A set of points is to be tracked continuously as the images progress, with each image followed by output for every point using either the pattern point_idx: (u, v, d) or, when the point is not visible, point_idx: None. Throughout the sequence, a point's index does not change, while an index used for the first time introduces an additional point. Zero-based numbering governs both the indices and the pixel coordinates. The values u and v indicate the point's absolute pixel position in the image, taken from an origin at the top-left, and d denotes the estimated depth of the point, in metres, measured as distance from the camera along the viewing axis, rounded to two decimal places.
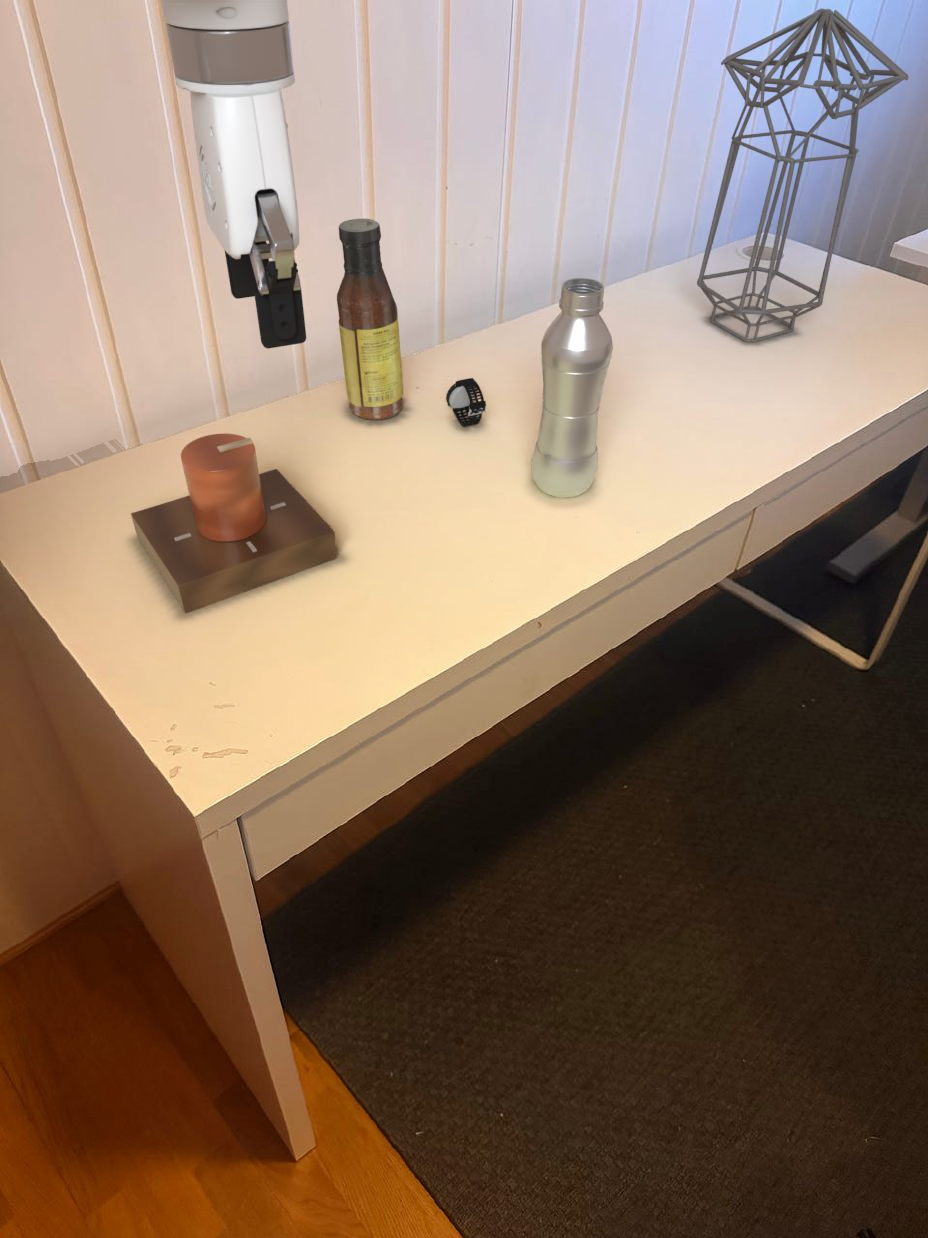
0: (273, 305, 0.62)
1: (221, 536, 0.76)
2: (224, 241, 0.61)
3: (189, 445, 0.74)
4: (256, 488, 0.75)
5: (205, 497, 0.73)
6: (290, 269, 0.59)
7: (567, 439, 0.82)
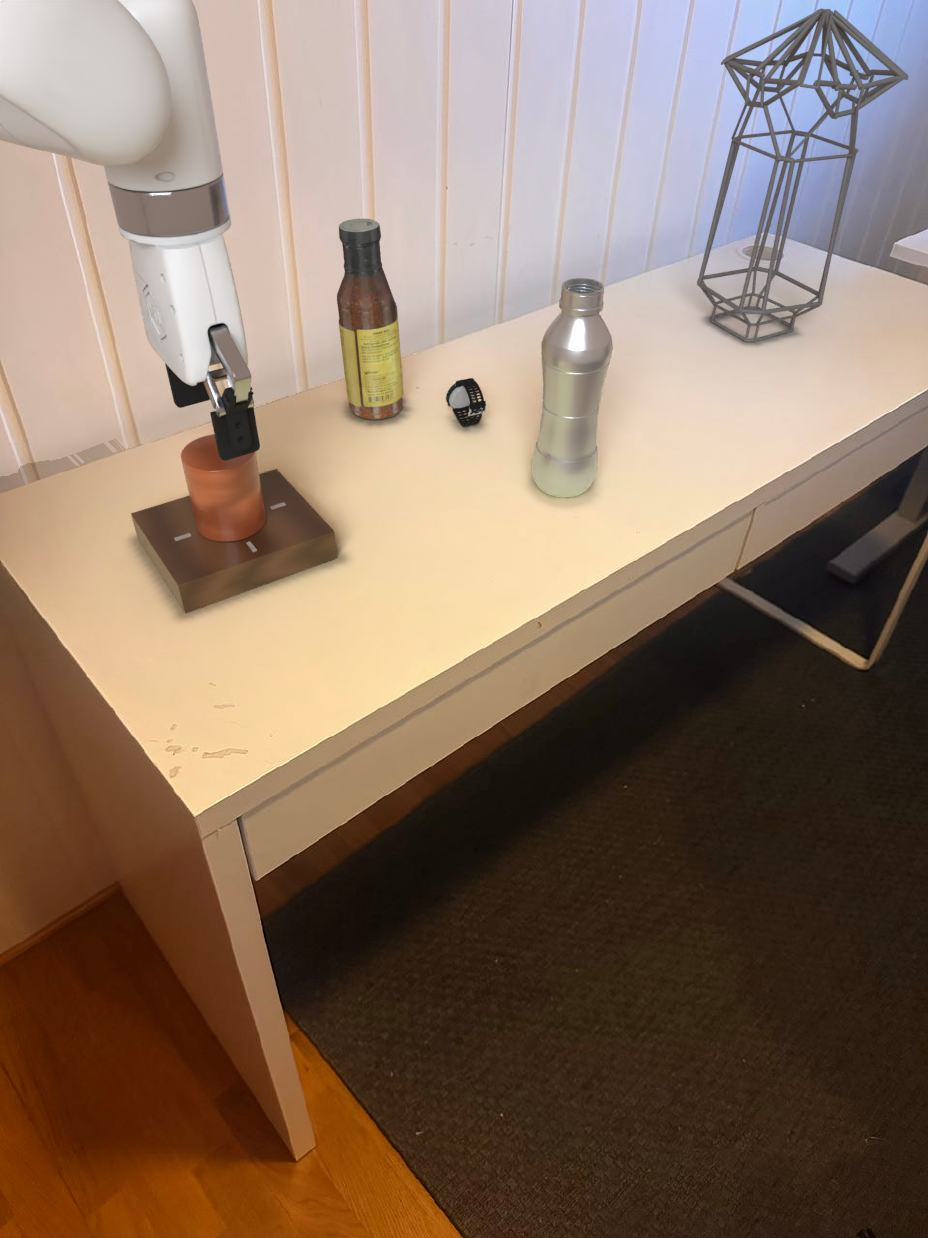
0: (230, 423, 0.66)
1: (221, 536, 0.76)
2: (177, 370, 0.65)
3: (189, 445, 0.74)
4: (256, 488, 0.75)
5: (205, 497, 0.73)
6: (247, 394, 0.63)
7: (567, 439, 0.82)
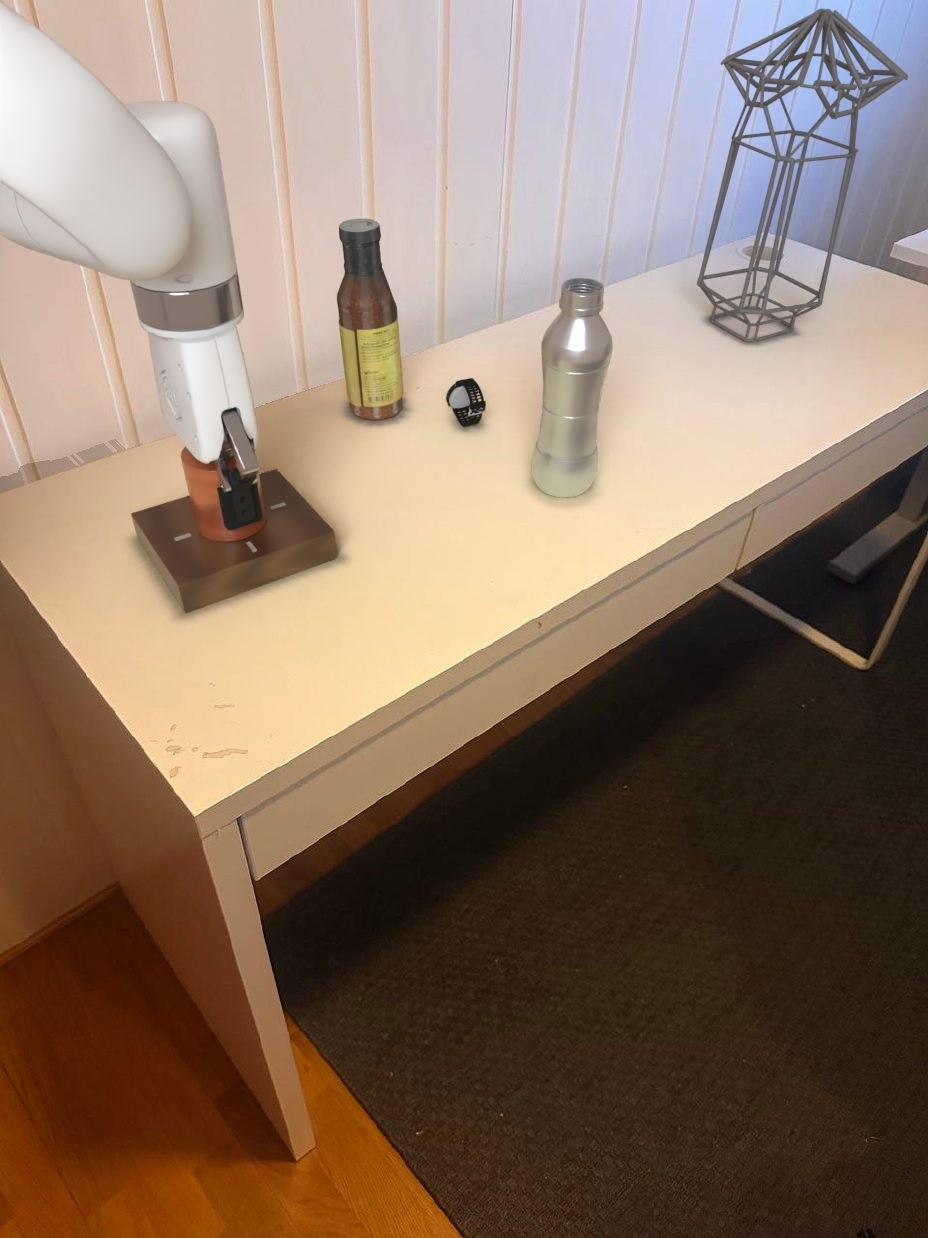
0: (235, 498, 0.72)
1: (221, 536, 0.76)
2: (192, 448, 0.69)
3: None
4: None
5: (205, 497, 0.73)
6: None
7: (567, 439, 0.82)
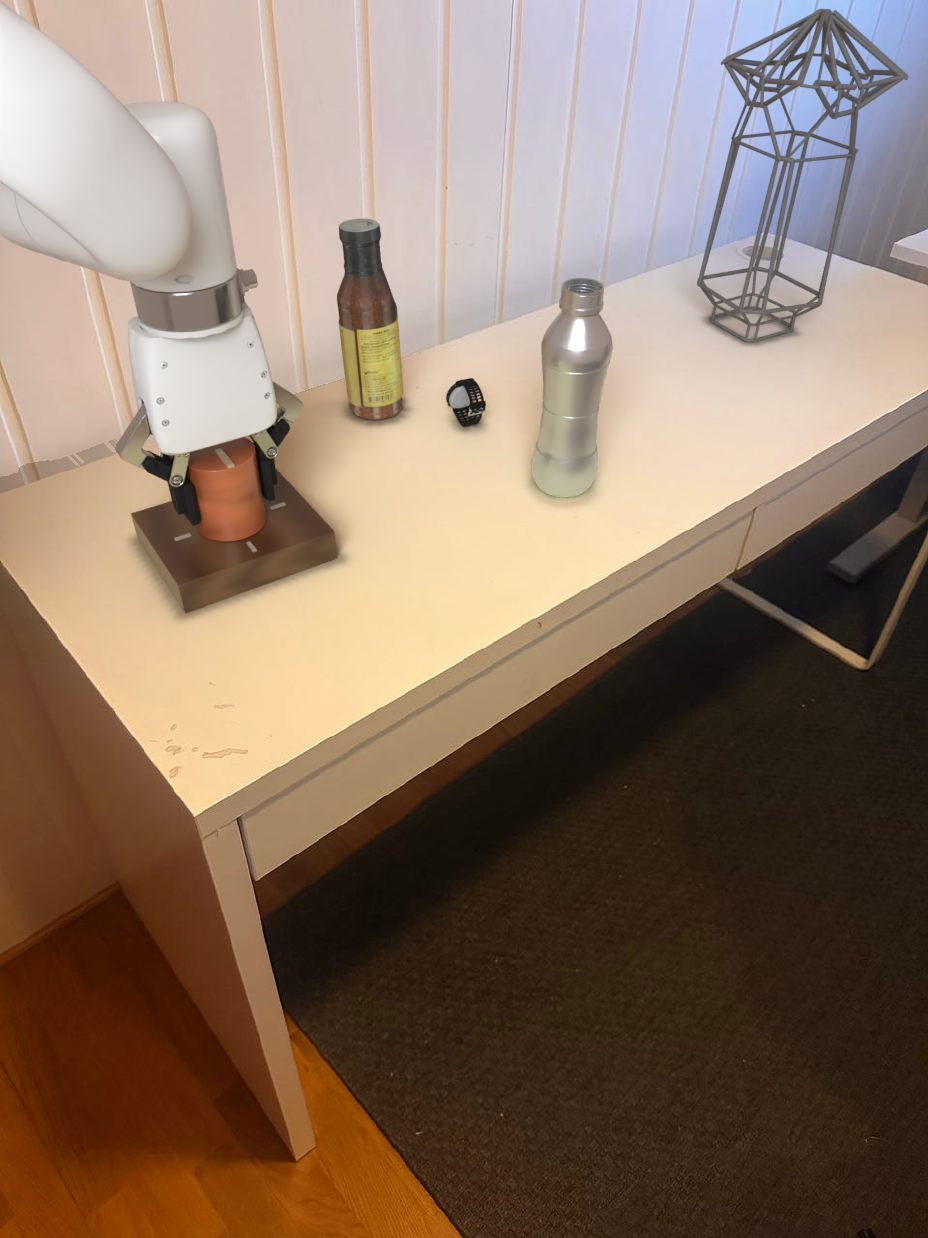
0: (168, 483, 0.73)
1: None
2: None
3: None
4: (206, 501, 0.73)
5: None
6: (140, 464, 0.70)
7: (567, 439, 0.82)
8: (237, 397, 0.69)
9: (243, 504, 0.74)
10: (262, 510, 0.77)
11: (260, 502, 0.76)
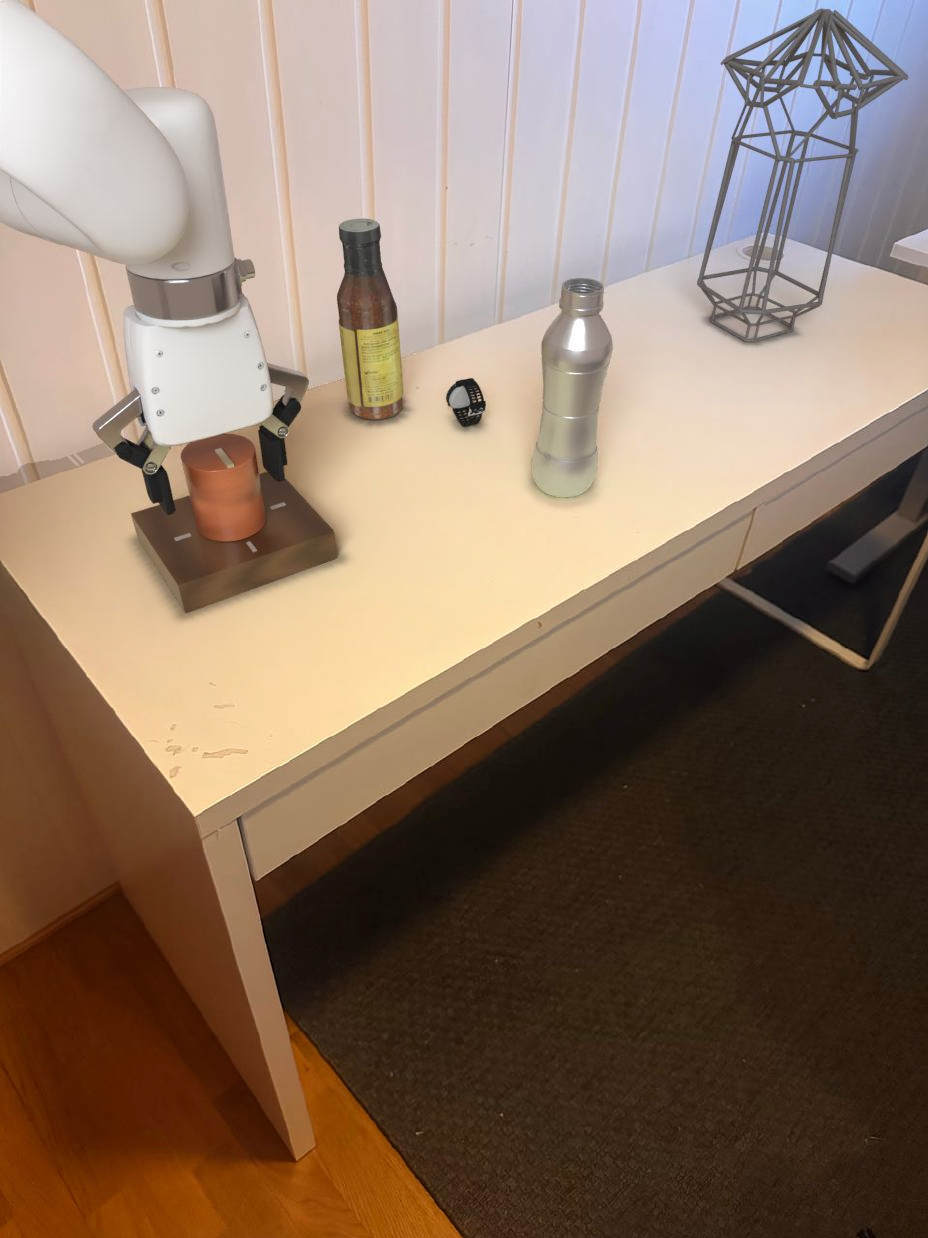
0: (143, 471, 0.71)
1: None
2: None
3: (235, 436, 0.75)
4: (206, 501, 0.73)
5: None
6: (113, 450, 0.68)
7: (567, 439, 0.82)
8: (233, 388, 0.68)
9: (242, 504, 0.74)
10: (262, 510, 0.77)
11: (260, 503, 0.76)
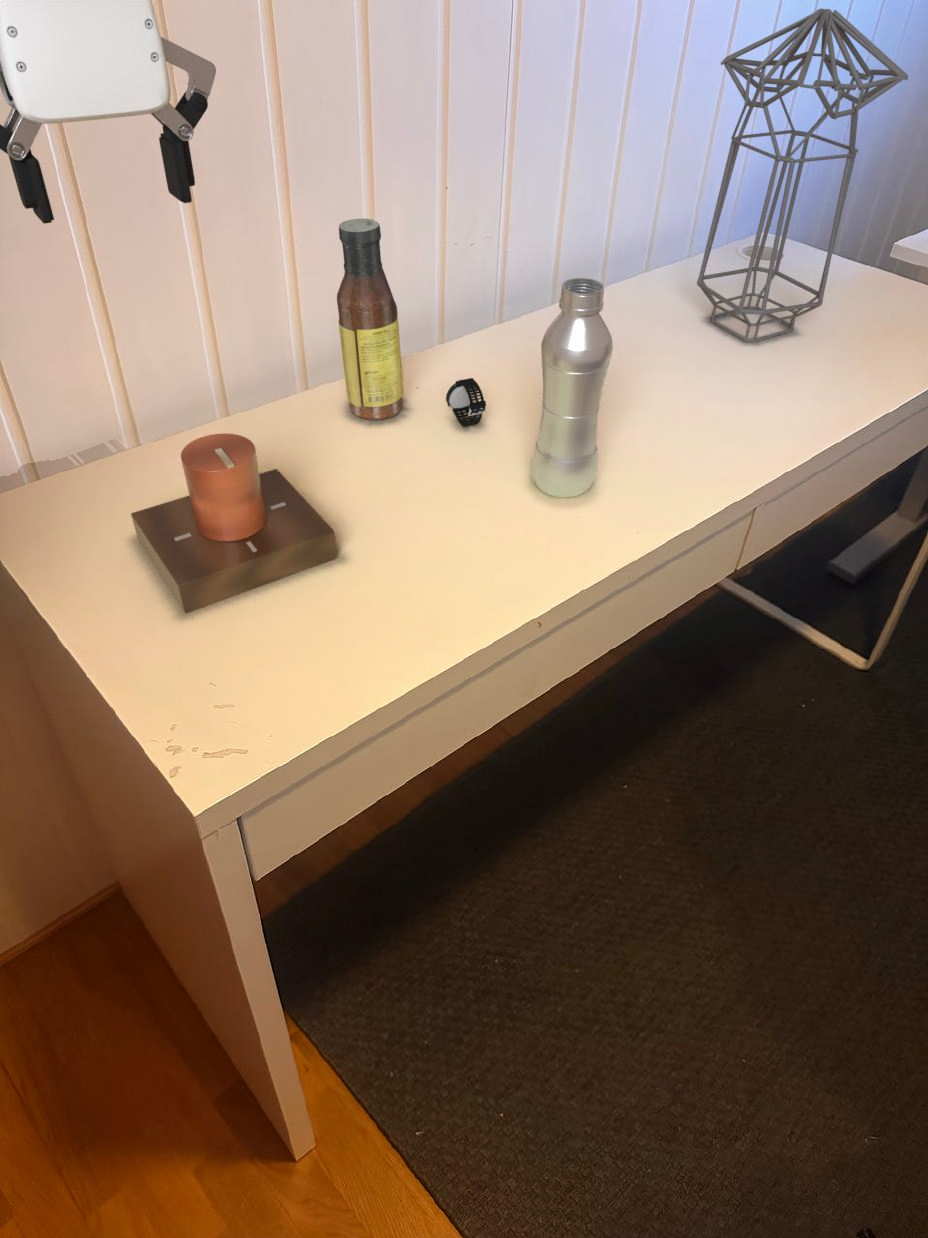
0: None
1: None
2: None
3: (235, 436, 0.75)
4: (206, 501, 0.73)
5: None
6: None
7: (567, 439, 0.82)
8: (114, 48, 0.56)
9: (242, 504, 0.74)
10: (262, 510, 0.77)
11: (260, 503, 0.76)
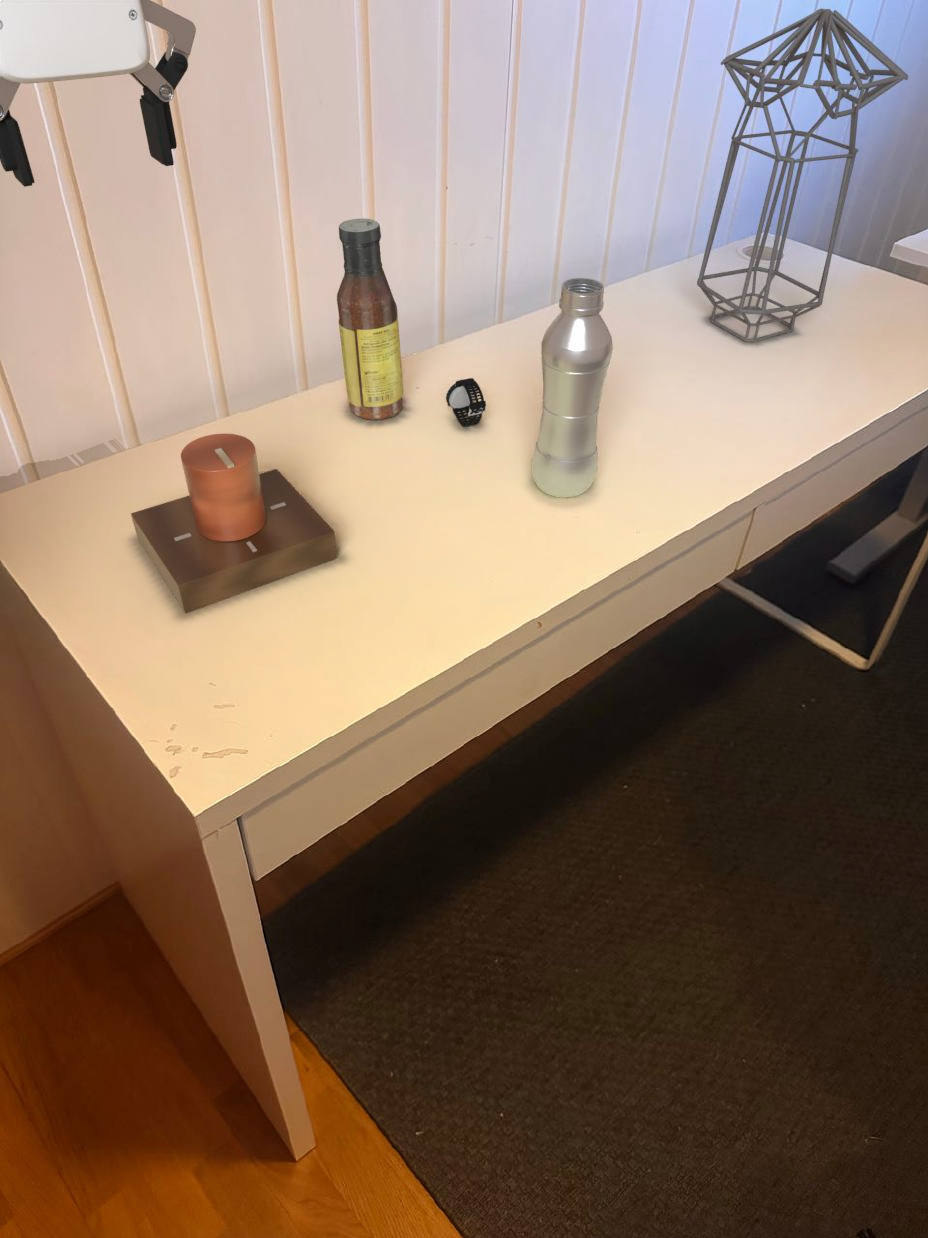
0: None
1: None
2: None
3: (235, 436, 0.75)
4: (206, 501, 0.73)
5: None
6: None
7: (567, 439, 0.82)
8: (92, 5, 0.56)
9: (242, 504, 0.74)
10: (262, 510, 0.77)
11: (260, 503, 0.76)
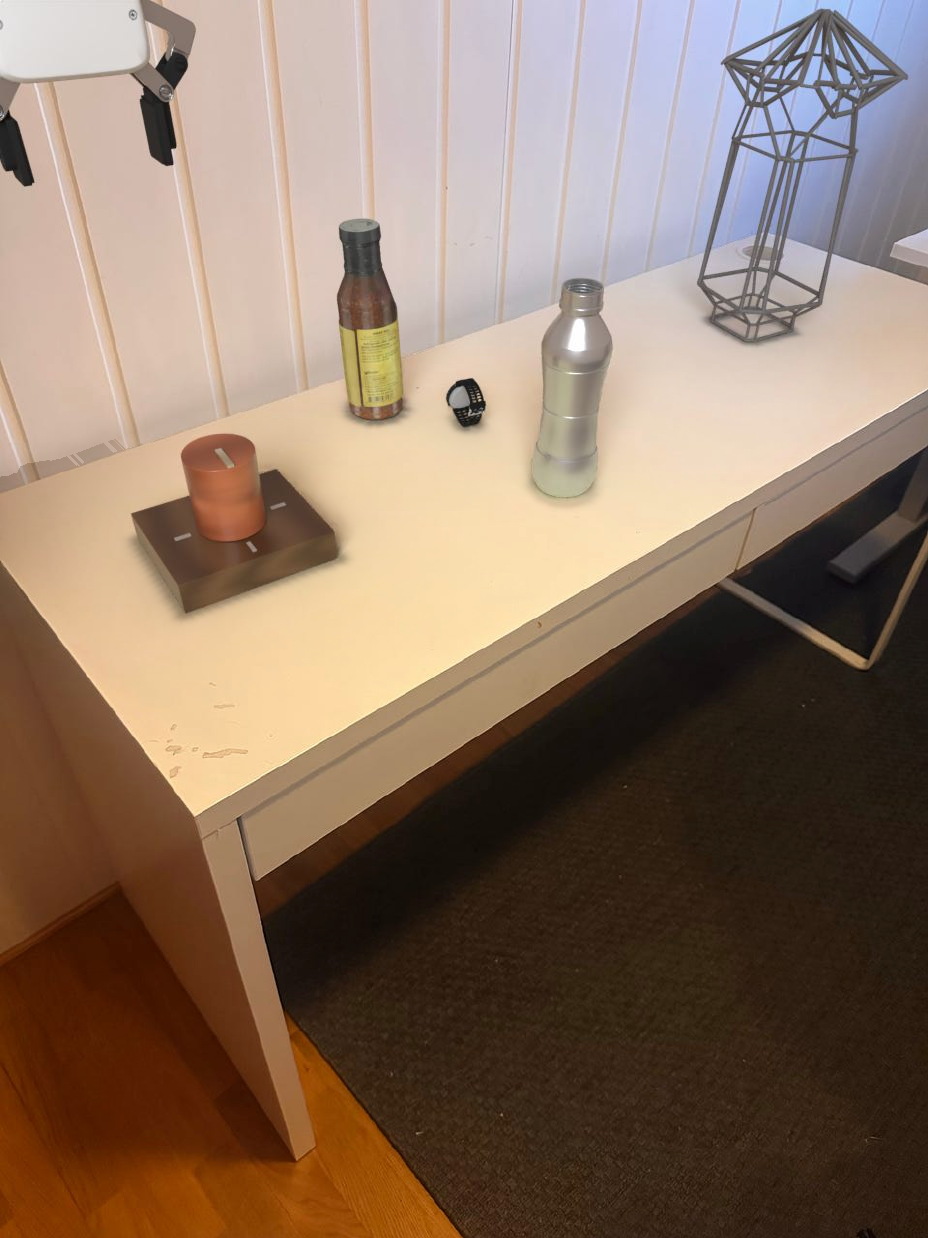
0: None
1: None
2: None
3: (235, 436, 0.75)
4: (206, 501, 0.73)
5: None
6: None
7: (567, 439, 0.82)
8: (92, 5, 0.56)
9: (242, 504, 0.74)
10: (262, 510, 0.77)
11: (260, 503, 0.76)
